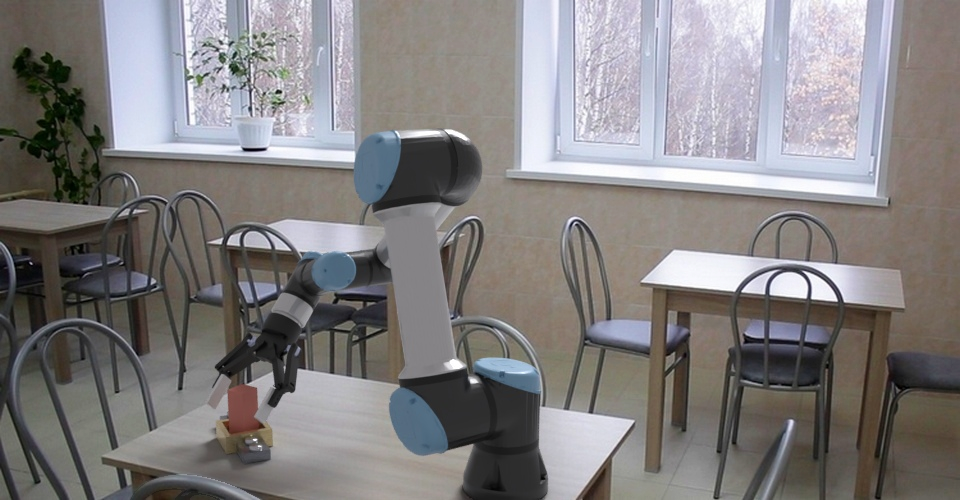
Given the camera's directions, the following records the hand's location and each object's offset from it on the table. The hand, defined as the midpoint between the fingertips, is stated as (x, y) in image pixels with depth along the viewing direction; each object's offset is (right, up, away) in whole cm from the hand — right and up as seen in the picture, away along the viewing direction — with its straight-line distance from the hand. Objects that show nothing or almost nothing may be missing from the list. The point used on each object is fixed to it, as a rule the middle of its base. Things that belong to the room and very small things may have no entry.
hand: (233, 413), depth 190 cm
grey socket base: (+1, -6, +3) cm, 7 cm away
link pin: (+1, -6, +3) cm, 7 cm away
